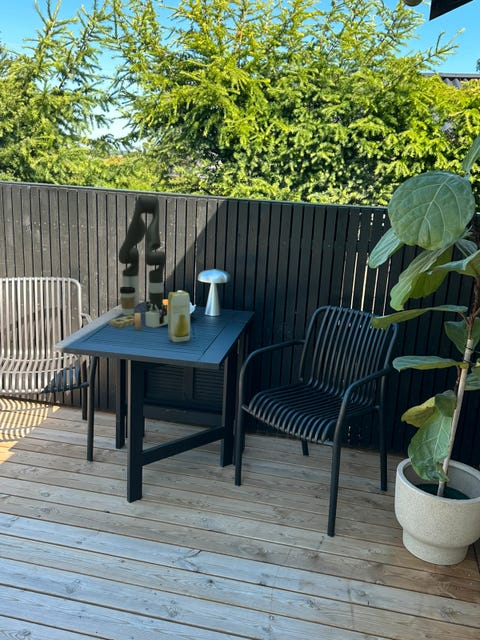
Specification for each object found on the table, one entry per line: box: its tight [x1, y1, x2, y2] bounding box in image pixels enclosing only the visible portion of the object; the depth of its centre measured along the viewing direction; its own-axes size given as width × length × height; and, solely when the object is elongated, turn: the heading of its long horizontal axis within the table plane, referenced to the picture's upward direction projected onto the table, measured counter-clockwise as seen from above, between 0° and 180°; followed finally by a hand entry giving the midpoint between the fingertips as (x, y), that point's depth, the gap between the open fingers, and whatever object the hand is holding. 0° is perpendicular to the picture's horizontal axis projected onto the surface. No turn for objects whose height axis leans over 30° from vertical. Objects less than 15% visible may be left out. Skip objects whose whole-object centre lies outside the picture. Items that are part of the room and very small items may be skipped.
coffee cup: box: [119, 286, 135, 316], centre depth 314 cm, size 8×8×15 cm
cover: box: [144, 310, 168, 329], centre depth 296 cm, size 6×10×7 cm, turn 141°
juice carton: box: [167, 290, 191, 343], centre depth 269 cm, size 9×8×24 cm
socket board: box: [108, 315, 135, 329], centre depth 297 cm, size 14×8×2 cm, turn 141°
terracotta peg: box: [134, 312, 142, 331], centre depth 287 cm, size 3×3×8 cm
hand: (157, 322), depth 297 cm, fingers closed on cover, 6 cm apart
